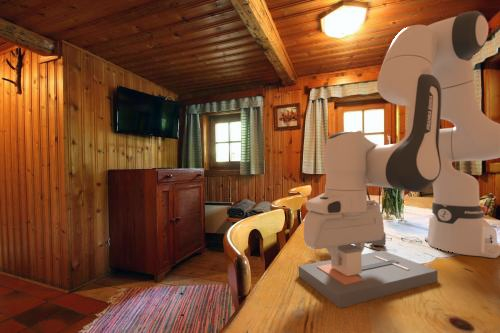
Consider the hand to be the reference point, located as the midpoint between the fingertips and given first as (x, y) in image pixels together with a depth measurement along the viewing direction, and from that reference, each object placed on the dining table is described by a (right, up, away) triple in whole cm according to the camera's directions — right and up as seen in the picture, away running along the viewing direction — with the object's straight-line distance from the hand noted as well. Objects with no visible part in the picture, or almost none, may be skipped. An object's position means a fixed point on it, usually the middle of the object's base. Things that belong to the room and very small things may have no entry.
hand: (346, 263), depth 53 cm
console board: (+6, -5, +2) cm, 8 cm away
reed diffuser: (+20, -5, +26) cm, 33 cm away
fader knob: (0, -2, 0) cm, 2 cm away
